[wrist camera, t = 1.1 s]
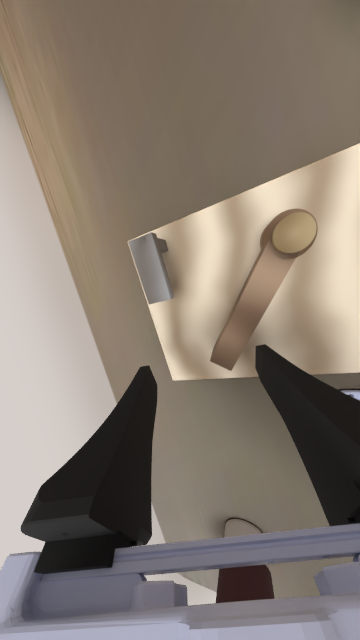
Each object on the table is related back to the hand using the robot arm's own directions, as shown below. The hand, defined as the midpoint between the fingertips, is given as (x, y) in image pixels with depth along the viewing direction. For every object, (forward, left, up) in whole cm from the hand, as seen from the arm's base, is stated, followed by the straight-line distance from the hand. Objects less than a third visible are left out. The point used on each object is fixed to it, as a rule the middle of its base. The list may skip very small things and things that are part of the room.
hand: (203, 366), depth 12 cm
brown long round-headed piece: (-4, -2, -10) cm, 11 cm away
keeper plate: (-3, -2, -11) cm, 12 cm away
